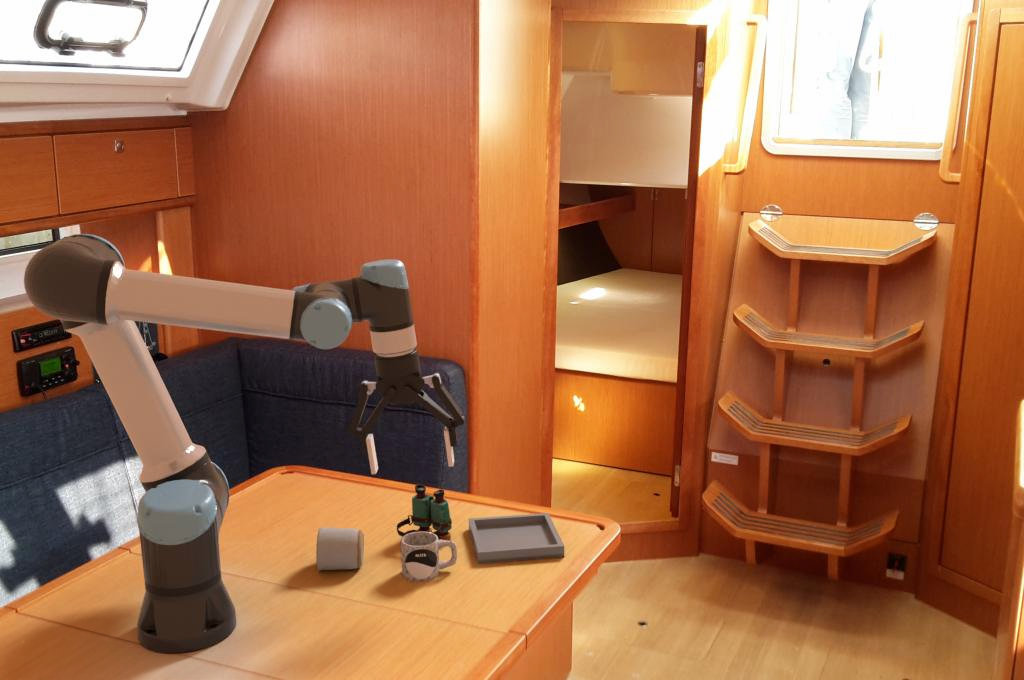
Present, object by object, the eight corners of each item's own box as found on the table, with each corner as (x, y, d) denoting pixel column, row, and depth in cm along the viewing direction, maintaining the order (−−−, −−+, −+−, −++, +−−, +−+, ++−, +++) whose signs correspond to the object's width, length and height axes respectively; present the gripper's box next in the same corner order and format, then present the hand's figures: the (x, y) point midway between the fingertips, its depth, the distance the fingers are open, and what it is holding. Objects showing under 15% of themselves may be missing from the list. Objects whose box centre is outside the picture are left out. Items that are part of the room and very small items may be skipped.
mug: (404, 583, 181) (402, 548, 180) (400, 567, 187) (398, 533, 186) (460, 577, 183) (459, 543, 182) (454, 562, 189) (453, 528, 188)
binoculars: (386, 500, 193) (418, 478, 201) (392, 550, 197) (423, 527, 205) (424, 509, 189) (455, 487, 197) (430, 560, 192) (460, 536, 200)
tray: (478, 563, 188) (478, 552, 188) (468, 529, 204) (468, 518, 203) (564, 557, 191) (564, 545, 190) (548, 523, 206) (548, 512, 206)
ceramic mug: (362, 575, 184) (360, 535, 183) (316, 577, 184) (314, 537, 182) (366, 551, 195) (364, 513, 193) (322, 553, 194) (320, 514, 193)
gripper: (469, 337, 178) (485, 453, 183) (328, 353, 180) (347, 466, 185) (466, 348, 171) (482, 468, 176) (318, 364, 172) (338, 482, 177)
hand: (413, 467), depth 180 cm, fingers open, 13 cm apart
